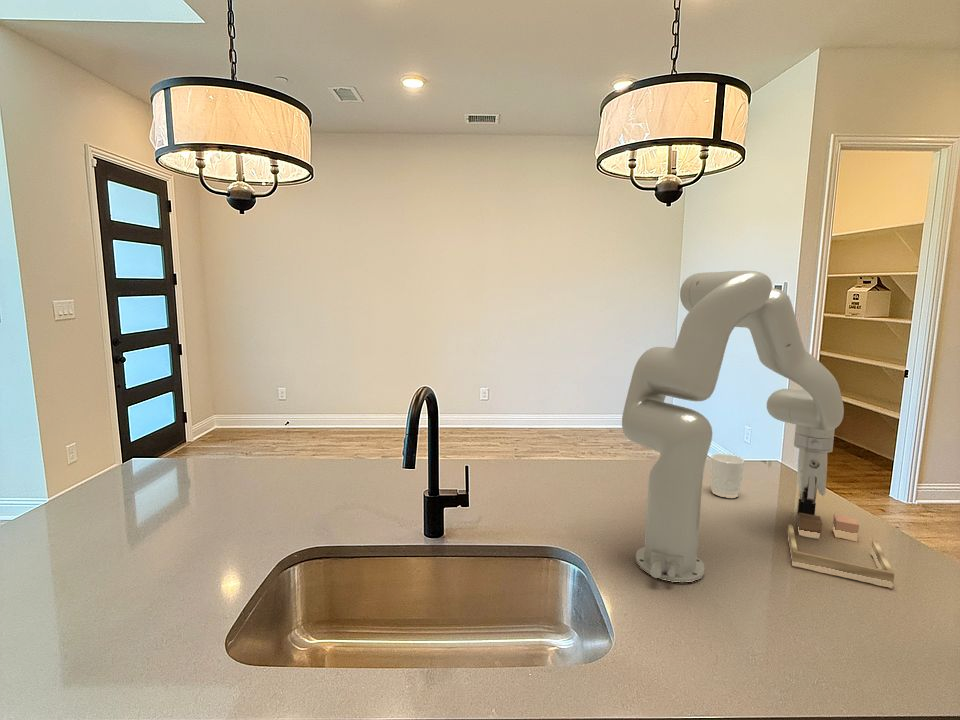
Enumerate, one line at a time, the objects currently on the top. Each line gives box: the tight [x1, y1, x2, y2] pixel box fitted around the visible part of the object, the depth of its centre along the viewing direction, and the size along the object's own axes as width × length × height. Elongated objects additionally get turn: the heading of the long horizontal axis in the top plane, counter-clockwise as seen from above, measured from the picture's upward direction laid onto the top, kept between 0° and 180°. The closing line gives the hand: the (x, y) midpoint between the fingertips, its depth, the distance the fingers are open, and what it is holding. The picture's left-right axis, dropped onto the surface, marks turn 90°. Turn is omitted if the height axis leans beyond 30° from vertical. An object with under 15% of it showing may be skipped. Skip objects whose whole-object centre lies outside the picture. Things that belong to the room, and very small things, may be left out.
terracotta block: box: [832, 513, 860, 534], centre depth 111 cm, size 4×4×4 cm
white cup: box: [710, 453, 745, 495], centre depth 134 cm, size 8×8×10 cm
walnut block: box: [797, 513, 823, 534], centre depth 112 cm, size 4×4×4 cm
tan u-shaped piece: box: [787, 523, 895, 583], centre depth 101 cm, size 14×16×3 cm
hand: (805, 517), depth 118 cm, fingers closed
